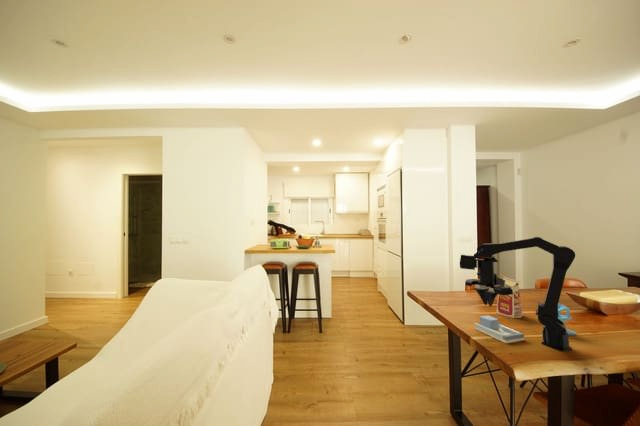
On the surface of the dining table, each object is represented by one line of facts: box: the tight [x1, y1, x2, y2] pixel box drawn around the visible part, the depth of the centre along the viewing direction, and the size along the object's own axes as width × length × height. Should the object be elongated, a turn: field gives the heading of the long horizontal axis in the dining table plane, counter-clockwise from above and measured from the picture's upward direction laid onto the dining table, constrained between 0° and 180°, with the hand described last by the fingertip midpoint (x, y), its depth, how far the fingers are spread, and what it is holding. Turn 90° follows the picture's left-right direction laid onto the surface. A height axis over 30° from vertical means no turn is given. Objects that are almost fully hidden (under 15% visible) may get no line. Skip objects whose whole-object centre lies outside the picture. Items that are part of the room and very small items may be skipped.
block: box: [479, 315, 500, 330], centre depth 105 cm, size 5×5×4 cm
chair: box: [558, 303, 577, 336], centre depth 104 cm, size 8×8×12 cm
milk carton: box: [496, 275, 523, 319], centre depth 125 cm, size 9×9×20 cm
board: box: [474, 322, 525, 344], centre depth 101 cm, size 14×10×2 cm
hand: (488, 305), depth 106 cm, fingers closed
